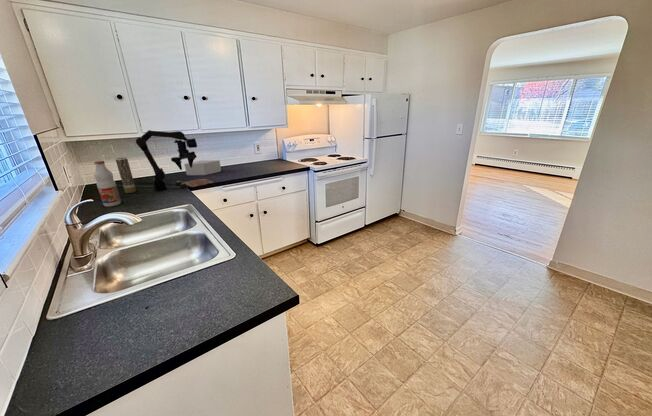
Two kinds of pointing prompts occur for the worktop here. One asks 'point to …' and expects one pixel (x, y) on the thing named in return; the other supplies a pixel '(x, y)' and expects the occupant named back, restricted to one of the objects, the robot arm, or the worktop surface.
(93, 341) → the worktop surface
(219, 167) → the block
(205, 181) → the face board
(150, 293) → the worktop surface
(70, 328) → the worktop surface
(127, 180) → the paper tube
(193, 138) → the robot arm
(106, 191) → the fruit juice
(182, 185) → the eye
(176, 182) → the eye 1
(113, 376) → the worktop surface
